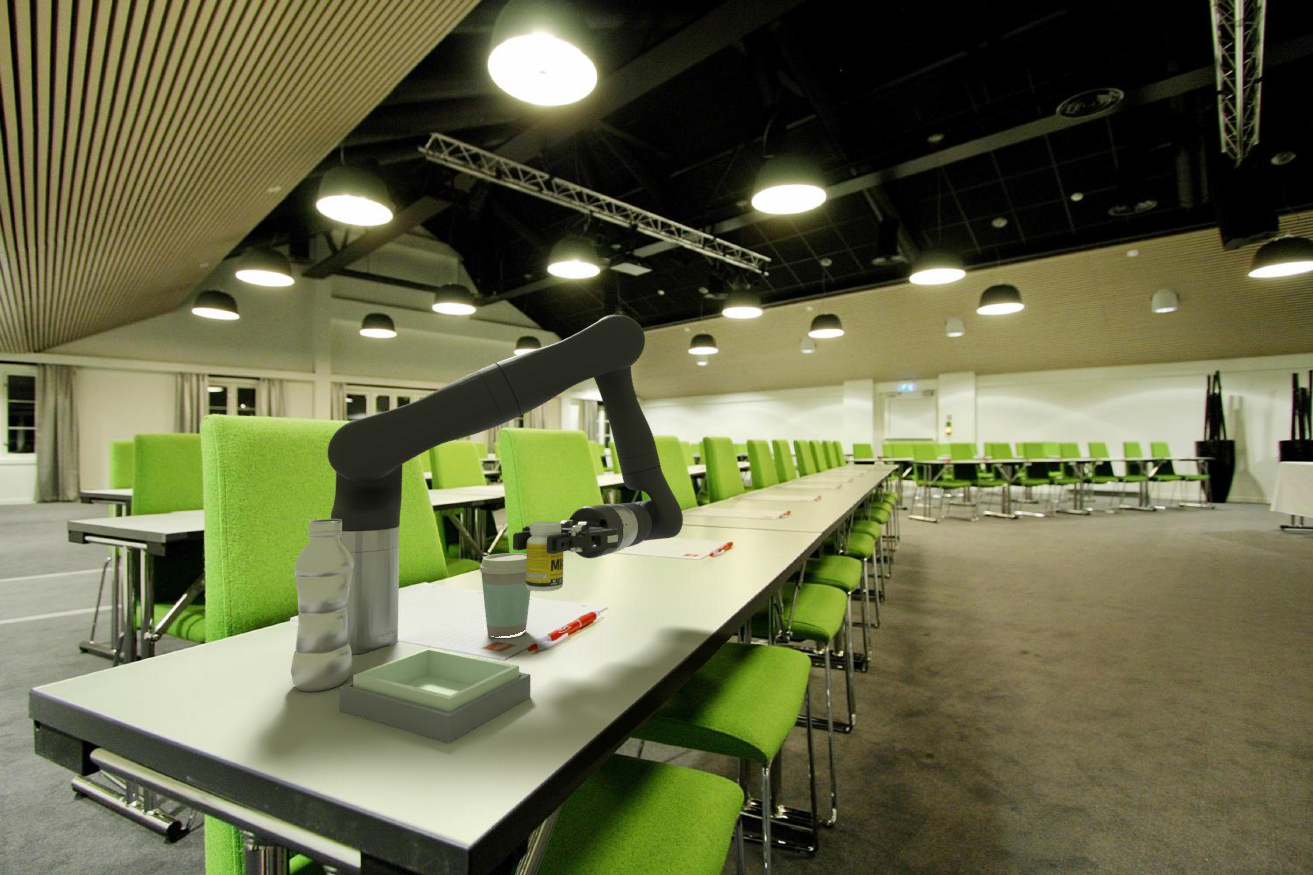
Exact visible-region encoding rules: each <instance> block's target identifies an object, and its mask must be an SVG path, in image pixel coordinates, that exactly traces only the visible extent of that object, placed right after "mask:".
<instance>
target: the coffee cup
mask: <svg viewBox="0 0 1313 875" xmlns="http://www.w3.org/2000/svg"><path fill="white" fill-rule="evenodd" d="M481 561H482V562H481V564H480V566H479V570H478V571H479V572H480V573H481V580H482V581H481V583H482V590H483V592H482V593H483V602H484V610H485V611H484V612H485V621H486V622H485V623H486V629H487V636H488V635H489V636H488V637H490V636H494V637H499V636H500V637H501V636H510V635H515V634H518V633H520V632H523V631H524V630H526V631H527V623H528V616H529V606H530V599H531V598H530V597H531V590H528V589H527V588H526V562H527V553H519V552H518V553H517V552H516V553H515V552H514V553H512V552H510V553H507V552H506V553H496V554H489V555H486V556H483V558H482V560H481Z"/></svg>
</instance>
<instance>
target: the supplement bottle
mask: <svg viewBox="0 0 1313 875" xmlns="http://www.w3.org/2000/svg"><path fill="white" fill-rule="evenodd" d="M529 526H530V534H532V536H531V537H530V538H529V539H528V540H527V549H526V554H527V562H526V588H527V589H528V590H531V591H532V592H552V591H557V590H560V589H561V588H562V587H563V585H564V552H559V553H555V554H549V553H547V537H548V536H550V535H556V534H561V521H553V520H552V521H543V520H542V521H533V522H530V524H529ZM531 591H530V592H531Z"/></svg>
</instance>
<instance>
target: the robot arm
mask: <svg viewBox="0 0 1313 875" xmlns="http://www.w3.org/2000/svg"><path fill="white" fill-rule="evenodd" d="M645 344H646V336H645V332H644V330H643V328H642V325H641V324H640V323H639V322H637V321H636V320H635V319H633V318H632V317H630V316H627V315H626V316H625V315H621V314H609V315H606V316H604V317H602V318H601V319H599V320H598V321H596V322H595V323H593V324H591V325H590V326H588V327H586V328H584V329H583V330H581V331H579V332H577V333H575V334H573V335H571V336H570V337H567V338H565V339H563V340H561V341H557V342H555V343H552V344H550V345H547V346H543V347H540V348H536V349H533V350H530V351H527V352H523V353H520V354H517V355H514V356H511V357H509V358H507V359H506V358H505V359H503V360H500V361H498V362H495V363H492V364H490V365H488V366H485V367H483V368H481V369H478V370H475V371H473V372H471V373H469V374H466V375H465V376H463V377H460V378H458V379H456V380H454V381H452V382H450V383H448V384H446V385H444V386H442V387H441V388H439V389H437V390H435V391H433V392H431V393H429V394H427V395H426V396H423V397H421V398H420V399H417V400H415V401H412V402H409V403H407V404H405V405H402V406H401V405H400V406H399V407H395V408H391V409H390V410H387V411H383V412H380V413H377V414H373V415H370V416H365V417H363V418H358V419H355V420H352V421H349V422H347V423H345V424H343V425H342V426H341V427H339V428H338V429H337V430H336V431H335V433H334V434H333V436H332V437H331V438H330V441H329V443H328V446H327V458H328V462H329V464H330V467H331V468H332V469H333V470H334V471H335V473H336V474H335V493H334V500H333V506H332V509H331V513H330V519H342V530H343V535H340V539H341V541H342V542H343V543H344V544H345V546H346V547H347V548H348V550H349V551H350V553H351V554H352V557H353V560H354V568H353V574H352V580H351V586H350V592H349V605H348V630H349V643H350V646H351V651H352V655H353V654H364V653H371V652H374V651H378V650H380V649H383V648H386V647H390V646H393V645H394V644H396V643H397V642H398V640H399V638H398V636H399V601H400V600H399V599H400V598H399V593H400V592H399V591H400V589H399V586H400V585H399V584H400V536H401V535H400V534H401V533H400V529H401V528H400V525H401V510H402V501H403V499H402V498H403V497H402V496H403V494H402V492H403V490H402V489H403V464H405V463H406V462H409V461H411V460H412V459H415V457H418V456H419V455H421V454H423V453H425V452H427V451H428V450H431V449H434V448H435V447H438V446H440V445H442V444H446V443H449V442H453V441H455V440H460V439H462V438H466V437H470V436H474V435H476V434H480V433H481V432H485V431H486V432H487V431H488V430H491V429H493V428H497V427H498V426H501V425H504V424H505V423H507V422H510V421H512V420H515V419H516V418H518V417H521V416H523V415H525V414H527V413H529V412H531V411H534V410H535V409H536V408H538V407H541V406H542V405H544V404H545V403H548V402H549V401H551V400H552V399H554V398H555V397H558V396H559V395H560V394H562V393H564V392H566V391H567V390H570V389H571V388H573V387H574V386H577V385H578V384H581V383H582V382H585V381H587V380H590V379H593V378H594V381H595V385H596V386H597V388H598V391H599V393H600V394H599V395H600V397H601V401H602V403H603V406H604V409H605V411H606V416H607V419H608V422H609V427H610V430H611V434H612V440H613V442H614V446H615V450H616V452H615V453H616V456H617V460H618V464H619V468H620V472H621V477H622V480H623V483H624V486H625V487H626V488H627V489H628V490H632V491H641V492H644V493H645V494H646V496H648V497H649V499H647V500H640V501H634V502H626V503H625V502H624V503H605V504H595V505H589V506H587V505H586V506H583V507H580V508H578V509H576V511H574V512H573V513H572V514H571V516H570V517H569V519H563V520H560V522H561V534H556V535H550V536H548V537H547V553H549V554H555V553H559V552H563V553H564V552H571V553H576V554H577V555H578V556H579V557H581V558H585V559H594V558H595V559H596V558H599V557H602V556H607V555H609V554H613V553H617V552H620V551H623V550H624V549H625V548H629V547H634V546H636V545H638V544H640V543H643V542H644V541H645V542H646V541H654V540H665V539H670V538H674V537H676V536H677V535H679V533H681V530H682V529H683V524H684V523H683V522H684V516H683V512H682V508H681V506H680V504H679V502H678V500H677V498H676V496H675V494H674V493H673V490H672V489H671V487H670V485H669V483H668V480H667V479H666V477H665V475H664V473H663V471H662V466H661V461H660V458H659V453H658V448H657V445H656V441H655V437H654V434H653V432H652V429H651V427H650V425H649V423H648V420H647V418H646V416H645V413H644V412H643V409H642V408H641V405H640V403H639V401H638V397H637V394H636V390H635V386H634V382H633V377H632V366H633V365H634V364H635V363H636V362H637V361H638V360H639V358H640V357H641V356H642V354H643V352H644V349H645ZM531 536H532V534H530V525H526V526H523V527H522V531H518V532H514V533H513V535H512V549H513V550H514V551H523V550H527V540H528V539H529V538H530V537H531Z"/></svg>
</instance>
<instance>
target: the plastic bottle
mask: <svg viewBox="0 0 1313 875" xmlns="http://www.w3.org/2000/svg"><path fill="white" fill-rule="evenodd" d="M307 528H308V531H307V535H306V536H307V537H308V538H309V541H308V542H307V544H306V545H305V546H304V547H303V549H301V551H300V553H299V555H298V556H297V557H296V560H295V563H294V566H293V569H294V573H293V574H294V575H295V576H294V580H295V587H296V595H297V611H298V615H297V616H298V617H297V618H298V620H297V621H298V622H297V623H298V624H297V633H296V642H295V650H294V652H293V657H292V662H291V667H290V673H291V680H292V681H291V682H292V684H293V685H294V686H295V688H296V689H297V690H298V691H302V692H306V693H309V692H321V691H327V690H329V689H333V688H336V687H340V686H342V685H343V684H344V683H345V682H346V681H347V680H348V678H349V676H350V675H351V671H352V665H353V654H352V651H351V646H350V643H349V630H348V605H349V592H350V586H351V580H352V574H353V568H354V560H353V557H352V554H351V553H350V551H349V550H348V548H347V547H346V546H345V544H344V543H343V542H342V541H341V539H340V535H343V530H342V519H331V518H322V519H312V520H309V521H308V527H307Z"/></svg>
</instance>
